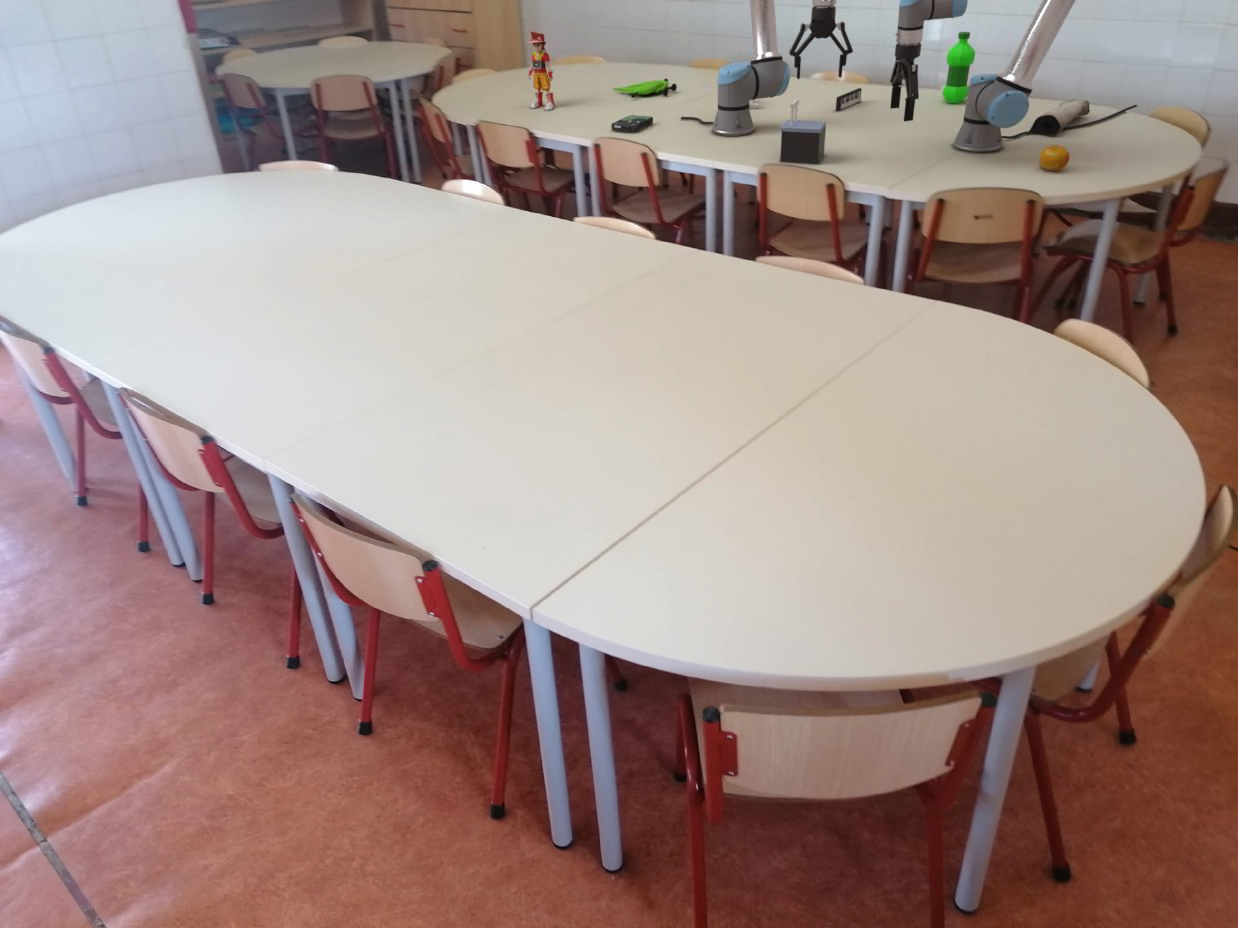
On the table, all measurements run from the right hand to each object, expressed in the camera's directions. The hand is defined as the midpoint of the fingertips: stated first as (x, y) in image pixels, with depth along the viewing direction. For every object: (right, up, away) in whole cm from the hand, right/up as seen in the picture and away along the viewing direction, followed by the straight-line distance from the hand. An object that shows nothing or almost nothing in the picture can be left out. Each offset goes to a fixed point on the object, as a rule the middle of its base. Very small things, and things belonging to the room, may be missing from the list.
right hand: (901, 114), depth 286 cm
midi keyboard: (+1, +31, +72) cm, 78 cm away
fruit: (+46, -19, -5) cm, 50 cm away
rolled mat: (+67, +9, +34) cm, 76 cm away
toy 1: (-123, +41, +97) cm, 162 cm away
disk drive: (-85, +19, +62) cm, 107 cm away
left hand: (-24, +16, +10) cm, 31 cm away
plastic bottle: (+42, +31, +68) cm, 87 cm away
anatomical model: (-39, +35, +81) cm, 97 cm away
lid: (-29, 0, +12) cm, 31 cm away
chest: (-28, -8, +18) cm, 34 cm away
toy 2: (-81, +53, +111) cm, 147 cm away
